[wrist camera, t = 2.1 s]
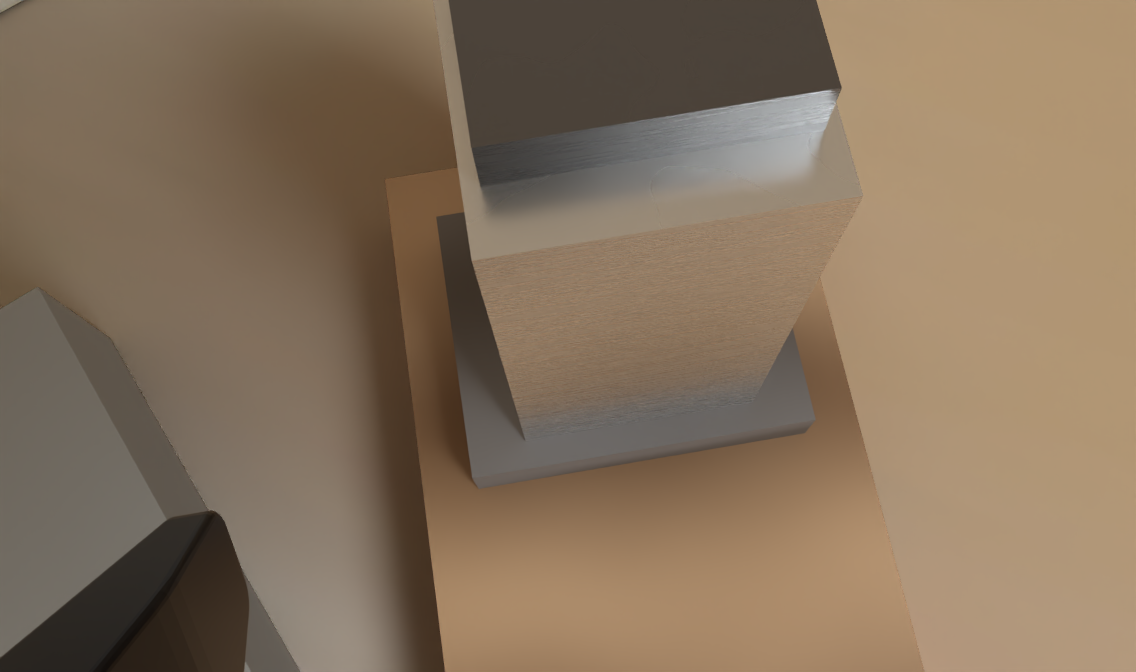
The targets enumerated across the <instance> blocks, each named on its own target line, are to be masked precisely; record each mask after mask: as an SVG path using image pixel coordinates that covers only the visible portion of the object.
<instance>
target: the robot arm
mask: <svg viewBox="0 0 1136 672" xmlns="http://www.w3.org/2000/svg"><path fill="white" fill-rule="evenodd" d="M248 621H249V594H248V588H247V584H246V580H245V578H244V575H243V572H242V569H241V566H240V563H239V561H238V558H237V555H236V552H235V549H234V546H233V544H232V541H231V538H230V535H229V532H228V530H227V527H226V524H225V522H224V520H223V519H222V517H221V516H220V515H219V514H218V513H216V512H214V511H203V512H197V513H192V514H186V515H180V516H174V517H171V518H169V519H167V520H166V521H165V522H163V523H162V524H161V525H160V526H159V527H157V528H156V529H155V530H154V531H153V532H151V533H150V534H149V535H148V536H146V537H145V538H144V539H143V540H142V541H140V542H139V543H138V544H137V545H136V546H134V547H133V548H132V549H131V550H130V551H128V552H127V553H126V554H125V555H124V556H122V557H121V558H120V559H119V560H117V561H116V562H115V563H114V564H113V565H111V566H110V567H109V568H108V569H107V570H105V571H104V572H103V573H102V574H101V575H99V576H98V577H97V578H96V579H95V580H93V581H92V582H91V583H90V584H88V585H87V586H86V587H85V588H84V589H82V590H81V591H80V592H79V593H78V594H76V595H75V596H74V597H73V598H72V599H70V600H69V601H68V602H67V603H66V604H64V605H63V606H62V607H61V608H59V609H58V610H57V611H56V612H55V613H53V614H52V615H51V616H50V617H49V618H47V619H46V620H45V621H44V622H43V623H41V624H40V625H39V626H38V627H37V628H35V629H34V630H33V631H32V632H30V633H29V634H28V635H27V636H26V637H24V638H23V639H22V640H21V641H20V642H18V643H17V644H16V645H15V646H14V647H12V648H11V649H10V650H9V651H8V652H6V653H5V654H4V655H3V656H1V657H0V672H244V669H245V657H246V645H247V633H248Z"/></svg>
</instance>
